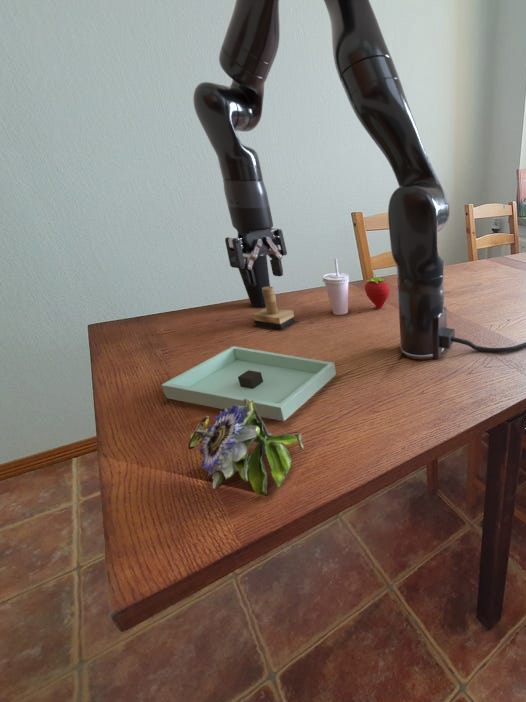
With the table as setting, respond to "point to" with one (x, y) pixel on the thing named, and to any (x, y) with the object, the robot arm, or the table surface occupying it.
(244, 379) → the crumb
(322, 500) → the table surface
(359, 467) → the table surface
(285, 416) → the tray
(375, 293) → the strawberry
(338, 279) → the smoothie
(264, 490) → the passion flower
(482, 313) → the table surface
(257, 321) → the brush
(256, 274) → the drinking cup
